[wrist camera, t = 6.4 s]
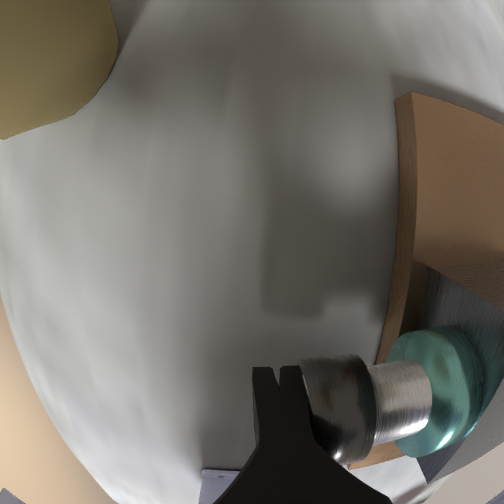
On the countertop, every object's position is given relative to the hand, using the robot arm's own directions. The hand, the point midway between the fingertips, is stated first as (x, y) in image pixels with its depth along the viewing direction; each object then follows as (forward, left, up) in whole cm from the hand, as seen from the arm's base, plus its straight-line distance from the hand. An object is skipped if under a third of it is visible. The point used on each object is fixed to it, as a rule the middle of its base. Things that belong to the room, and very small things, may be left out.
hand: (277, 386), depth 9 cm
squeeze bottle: (-10, +14, -3) cm, 17 cm away
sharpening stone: (+10, 0, -3) cm, 11 cm away
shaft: (+8, 0, -1) cm, 8 cm away
